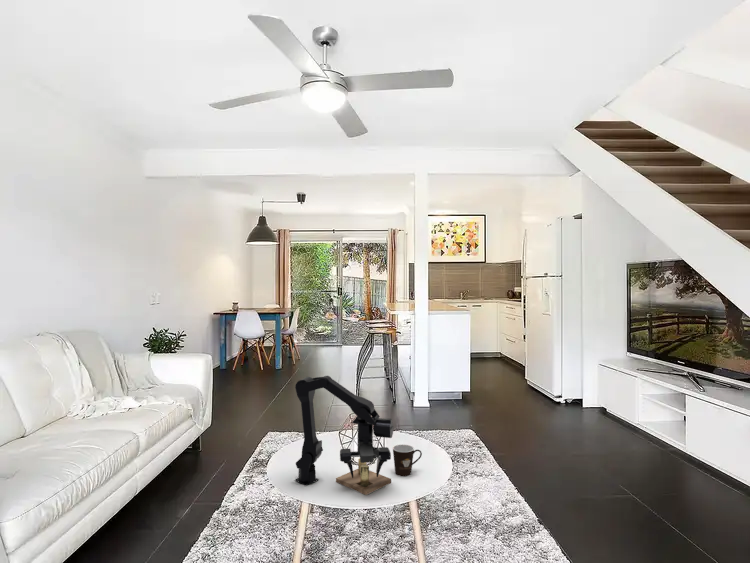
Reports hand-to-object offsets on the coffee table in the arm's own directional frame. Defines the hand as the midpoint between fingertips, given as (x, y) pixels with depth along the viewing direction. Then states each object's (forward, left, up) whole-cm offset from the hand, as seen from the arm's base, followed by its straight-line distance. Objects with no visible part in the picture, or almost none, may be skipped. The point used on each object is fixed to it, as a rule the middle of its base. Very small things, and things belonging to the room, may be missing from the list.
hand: (364, 477), depth 173 cm
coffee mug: (+3, +21, -4) cm, 22 cm away
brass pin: (0, 0, -4) cm, 4 cm away
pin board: (-4, +3, -4) cm, 6 cm away
